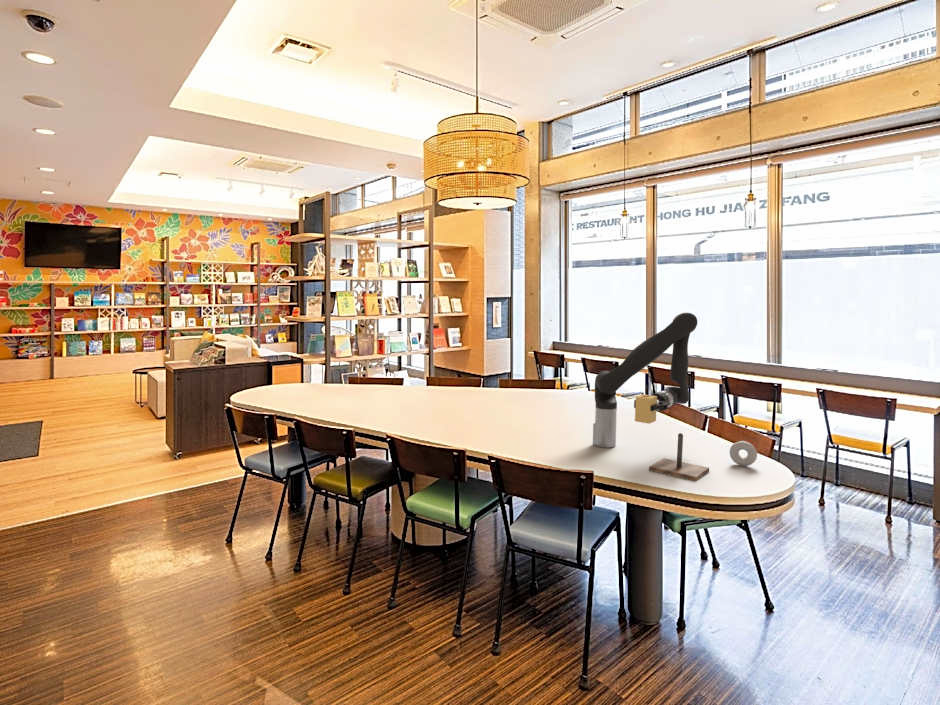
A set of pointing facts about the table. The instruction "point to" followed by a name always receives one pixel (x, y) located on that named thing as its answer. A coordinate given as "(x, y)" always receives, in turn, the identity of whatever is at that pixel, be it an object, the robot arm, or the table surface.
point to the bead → (645, 408)
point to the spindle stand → (679, 465)
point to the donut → (747, 447)
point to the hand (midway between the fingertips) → (643, 407)
